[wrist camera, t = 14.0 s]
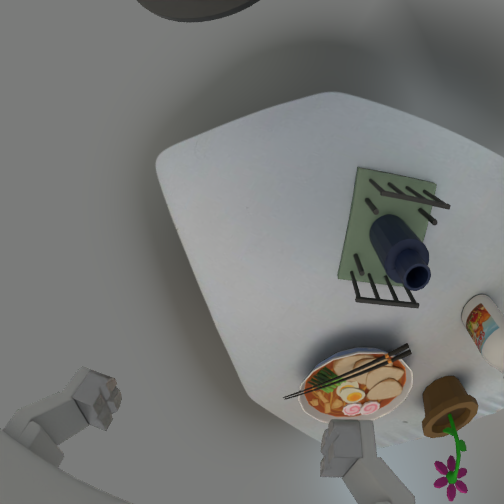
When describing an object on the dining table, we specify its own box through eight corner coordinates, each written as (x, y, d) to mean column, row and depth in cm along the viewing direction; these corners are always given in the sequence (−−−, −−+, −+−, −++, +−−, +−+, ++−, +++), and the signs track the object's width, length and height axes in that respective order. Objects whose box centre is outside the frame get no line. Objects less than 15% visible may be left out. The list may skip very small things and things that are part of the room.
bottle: (373, 211, 42) (401, 249, 30) (410, 217, 42) (447, 256, 29) (365, 249, 45) (386, 297, 32) (400, 254, 44) (430, 302, 32)
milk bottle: (486, 286, 45) (535, 351, 27) (493, 310, 47) (536, 375, 29) (456, 307, 48) (498, 380, 30) (465, 331, 49) (501, 400, 31)
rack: (357, 167, 41) (371, 179, 33) (433, 182, 40) (461, 198, 31) (337, 275, 49) (343, 308, 40) (407, 283, 47) (423, 315, 39)
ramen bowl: (322, 412, 64) (322, 439, 57) (274, 355, 58) (269, 385, 51) (420, 374, 56) (428, 401, 48) (391, 303, 49) (403, 332, 42)
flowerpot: (403, 403, 60) (422, 509, 33) (439, 365, 54) (476, 478, 27) (441, 409, 60) (464, 502, 33) (475, 373, 54) (513, 470, 27)
